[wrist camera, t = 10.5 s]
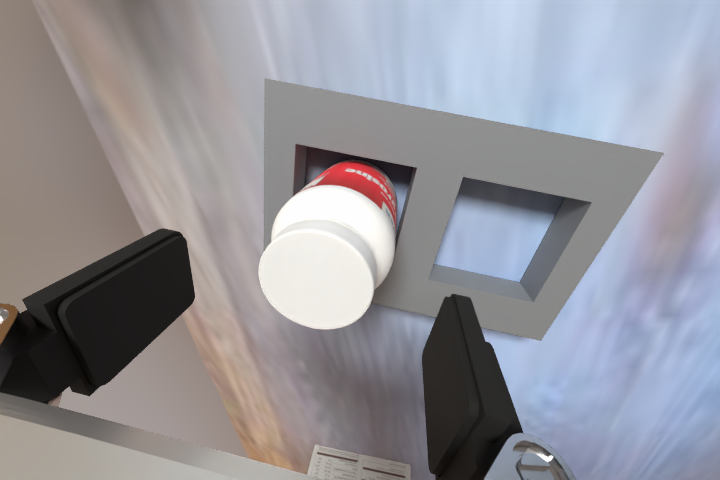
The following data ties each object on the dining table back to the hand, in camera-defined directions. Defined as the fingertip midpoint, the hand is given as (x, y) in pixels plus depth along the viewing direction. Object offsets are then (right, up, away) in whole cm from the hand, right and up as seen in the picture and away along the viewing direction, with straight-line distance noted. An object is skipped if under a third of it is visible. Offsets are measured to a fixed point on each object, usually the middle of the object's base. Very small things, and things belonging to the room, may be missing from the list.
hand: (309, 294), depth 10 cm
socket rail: (+6, +4, +10) cm, 13 cm away
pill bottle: (+1, +5, +11) cm, 12 cm away
